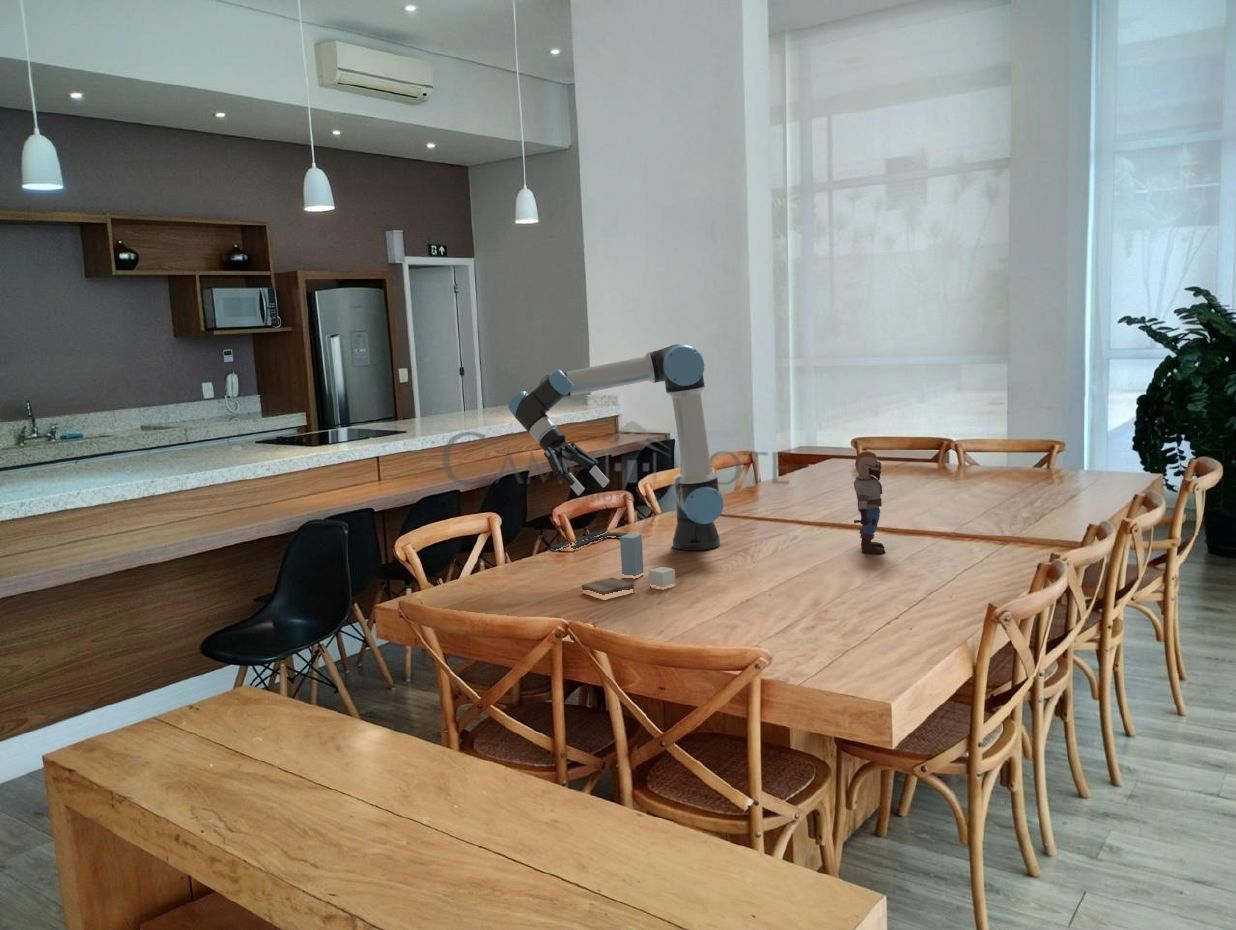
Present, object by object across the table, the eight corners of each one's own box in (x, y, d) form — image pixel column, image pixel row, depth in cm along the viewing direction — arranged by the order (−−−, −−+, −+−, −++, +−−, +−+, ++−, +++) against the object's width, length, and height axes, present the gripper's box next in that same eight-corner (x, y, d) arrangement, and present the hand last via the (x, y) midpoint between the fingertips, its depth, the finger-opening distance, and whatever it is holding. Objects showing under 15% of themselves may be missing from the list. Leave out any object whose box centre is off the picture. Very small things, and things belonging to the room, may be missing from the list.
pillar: (630, 574, 284) (627, 533, 283) (643, 575, 282) (641, 534, 280) (622, 578, 281) (619, 537, 279) (636, 579, 278) (633, 538, 277)
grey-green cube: (661, 584, 272) (661, 566, 271) (675, 586, 269) (674, 568, 268) (649, 588, 269) (648, 570, 268) (663, 591, 265) (662, 573, 264)
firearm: (584, 549, 312) (547, 546, 321) (585, 556, 313) (548, 552, 321) (633, 530, 336) (597, 527, 344) (634, 537, 336) (598, 534, 344)
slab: (612, 588, 273) (612, 577, 272) (634, 594, 264) (633, 584, 264) (582, 595, 267) (581, 584, 266) (603, 602, 259) (602, 591, 258)
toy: (887, 559, 284) (885, 456, 280) (854, 559, 286) (852, 457, 282) (882, 541, 306) (880, 446, 301) (852, 542, 307) (849, 447, 303)
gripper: (564, 439, 301) (609, 489, 296) (516, 450, 280) (563, 504, 274) (578, 422, 298) (623, 472, 292) (530, 431, 276) (578, 486, 271)
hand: (594, 488), depth 283 cm, fingers open, 13 cm apart
